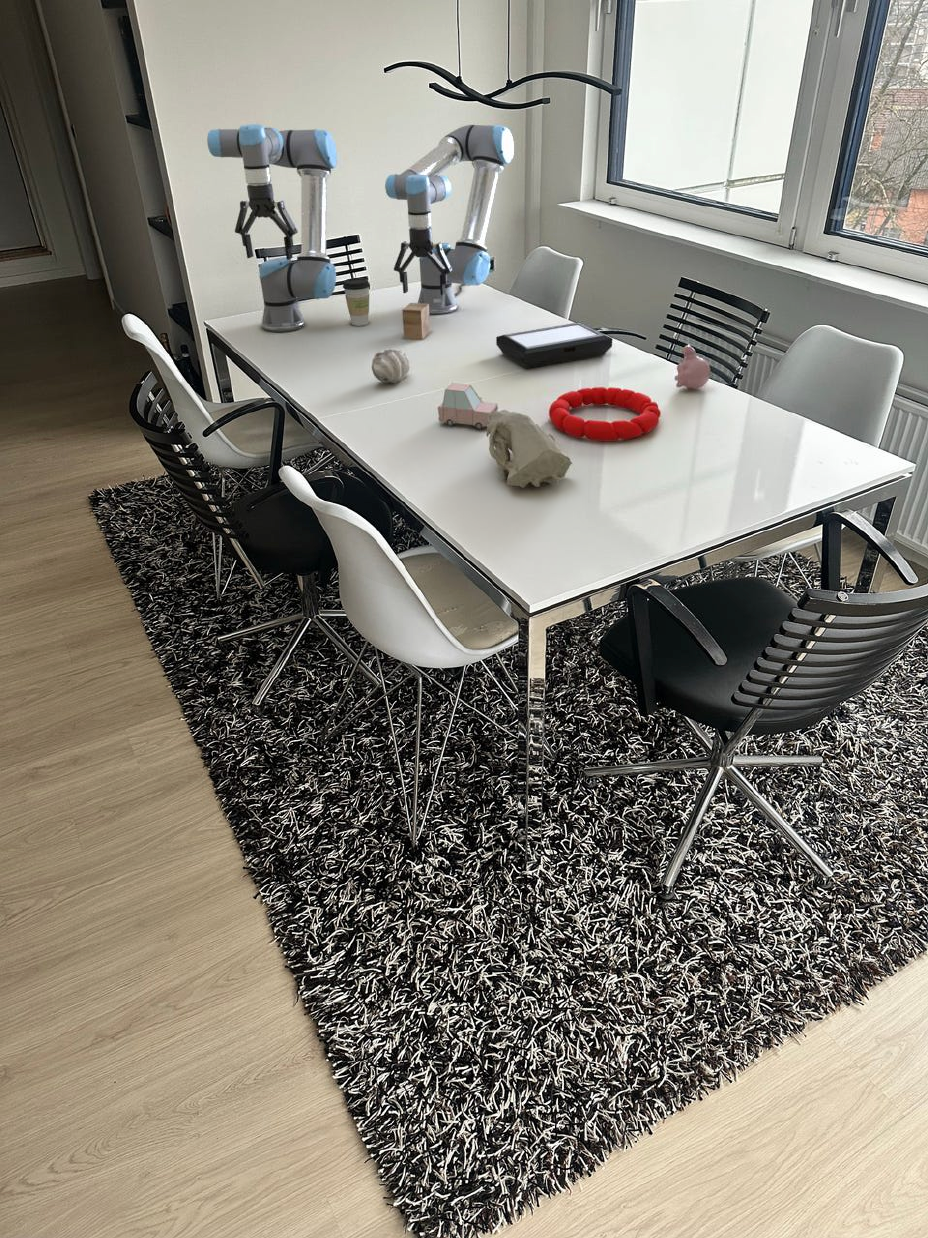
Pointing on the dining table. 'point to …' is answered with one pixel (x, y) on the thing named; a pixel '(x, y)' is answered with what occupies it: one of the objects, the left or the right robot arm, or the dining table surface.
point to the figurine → (692, 370)
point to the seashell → (390, 366)
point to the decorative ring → (604, 428)
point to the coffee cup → (357, 300)
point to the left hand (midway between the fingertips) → (269, 257)
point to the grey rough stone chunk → (525, 450)
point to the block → (416, 321)
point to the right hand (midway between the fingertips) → (424, 293)
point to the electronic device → (553, 344)
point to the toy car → (465, 406)
